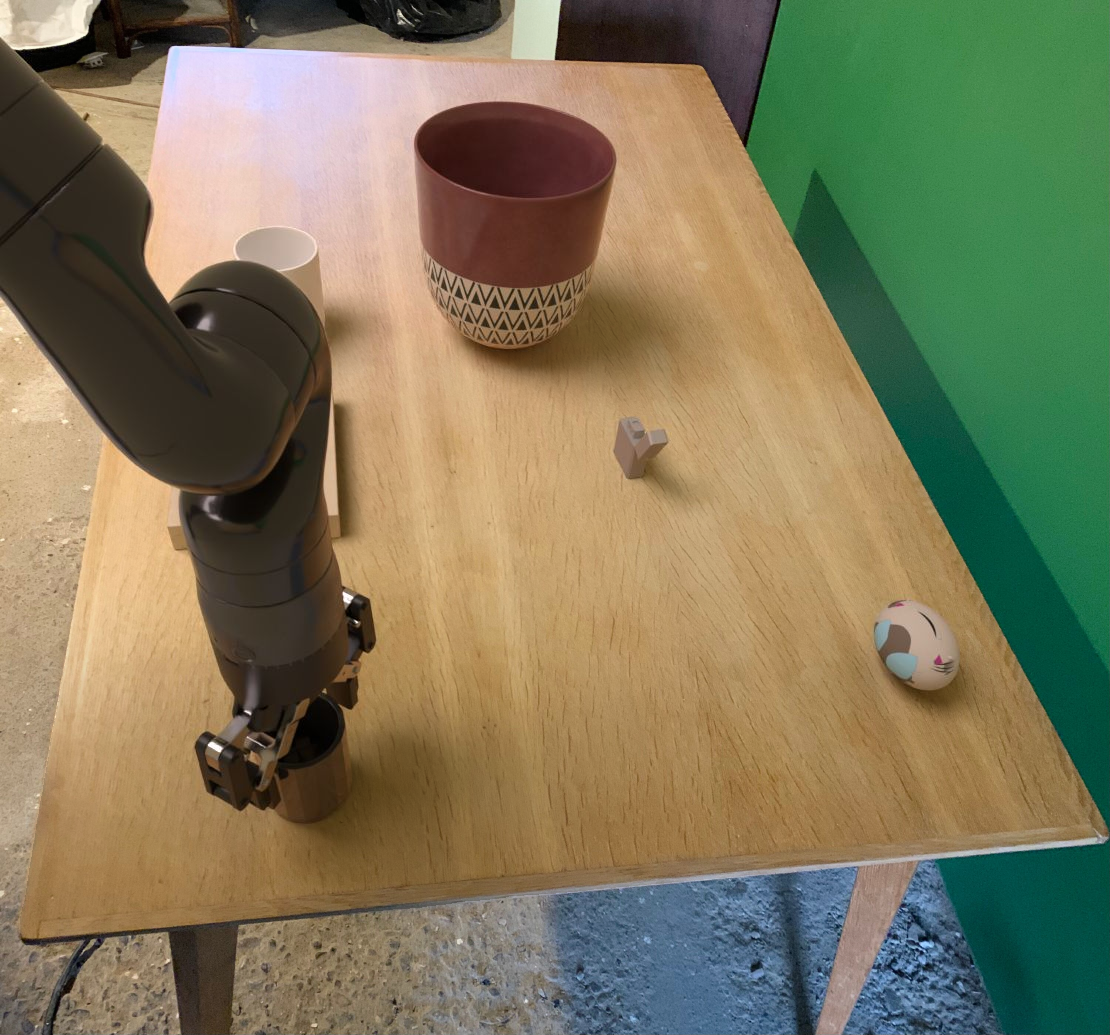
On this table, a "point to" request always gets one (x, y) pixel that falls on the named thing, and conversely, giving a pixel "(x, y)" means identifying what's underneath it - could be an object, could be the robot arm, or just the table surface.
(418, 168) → the planter
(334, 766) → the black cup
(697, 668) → the table surface
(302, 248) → the cup
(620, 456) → the grey blocky piece
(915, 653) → the figurine
